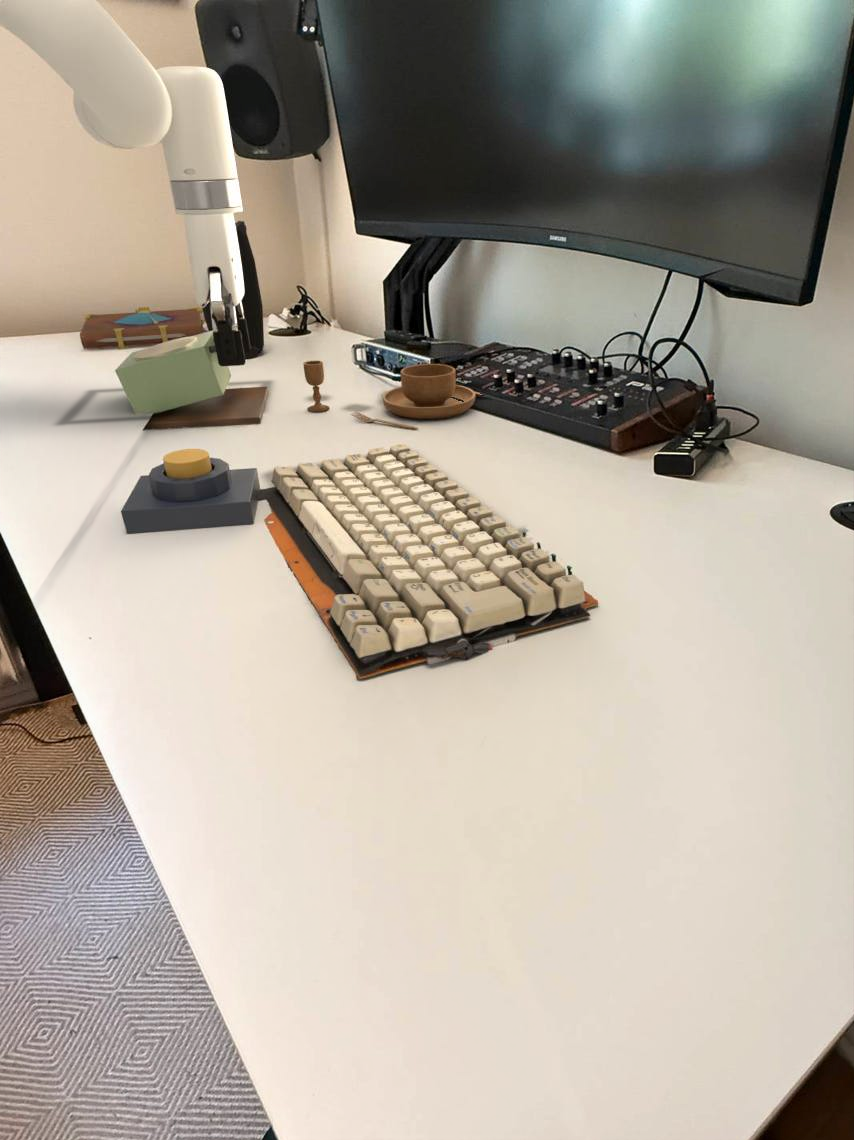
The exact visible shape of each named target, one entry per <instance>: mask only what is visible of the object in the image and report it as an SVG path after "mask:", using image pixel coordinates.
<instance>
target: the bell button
mask: <svg viewBox="0 0 854 1140" xmlns="http://www.w3.org/2000/svg"><path fill="white" fill-rule="evenodd" d="M210 458H211V457H210V453H209V451H208V450H206V449H201V448H185V449H178V450H174V451H171V452H169V453H166V454H164V456H163V457H162V462H163V463H164V466H165V470H166V475H167V477H170V478H177V479H181V478H193V477H197V476H201V475H205V474H207V473H209V472H211V471H212V467H211V462H210Z"/></svg>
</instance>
